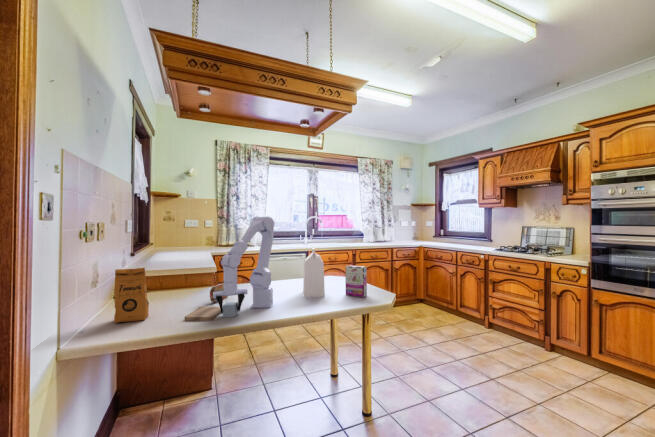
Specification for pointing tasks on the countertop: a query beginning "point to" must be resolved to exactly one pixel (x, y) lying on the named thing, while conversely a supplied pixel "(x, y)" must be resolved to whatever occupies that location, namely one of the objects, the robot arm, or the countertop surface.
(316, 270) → the milk
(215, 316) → the walnut board
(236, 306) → the slate cube
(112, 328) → the countertop surface
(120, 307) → the coffee package
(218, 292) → the robot arm
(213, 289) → the tin
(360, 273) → the candy bar box
